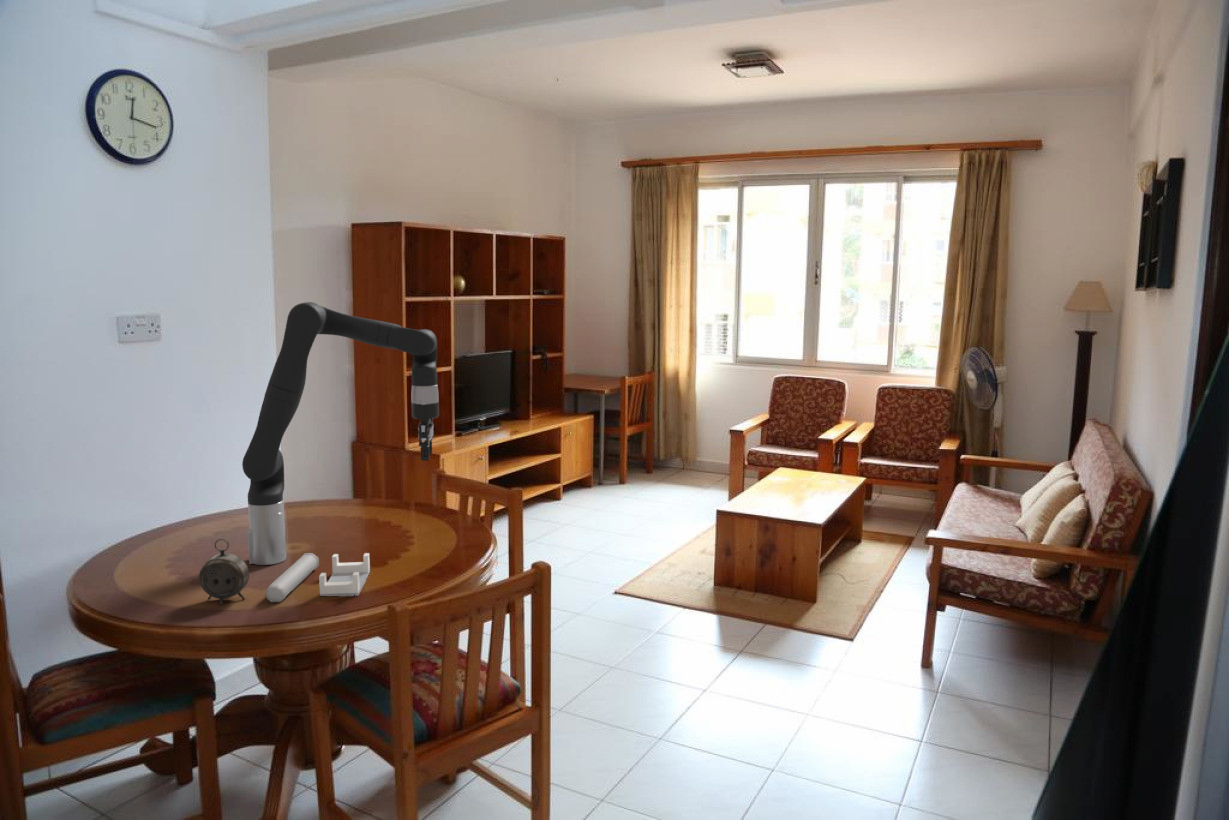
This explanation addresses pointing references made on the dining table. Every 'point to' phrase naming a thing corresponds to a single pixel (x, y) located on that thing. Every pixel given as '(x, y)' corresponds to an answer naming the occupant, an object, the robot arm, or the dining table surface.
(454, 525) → the dining table surface
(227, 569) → the alarm clock
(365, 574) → the cradle
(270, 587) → the tube
